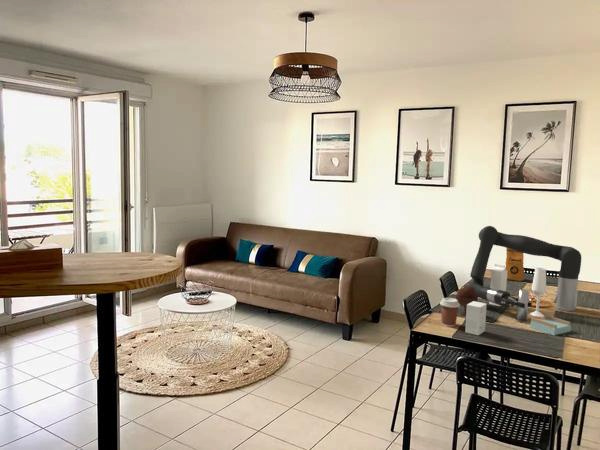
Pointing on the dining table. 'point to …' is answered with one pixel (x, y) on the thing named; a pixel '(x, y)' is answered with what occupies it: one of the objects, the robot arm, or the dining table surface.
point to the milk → (498, 279)
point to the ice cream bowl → (466, 297)
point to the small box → (475, 318)
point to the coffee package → (514, 265)
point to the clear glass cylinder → (524, 299)
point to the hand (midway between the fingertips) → (527, 305)
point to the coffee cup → (449, 311)
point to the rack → (551, 325)
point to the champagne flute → (539, 287)
